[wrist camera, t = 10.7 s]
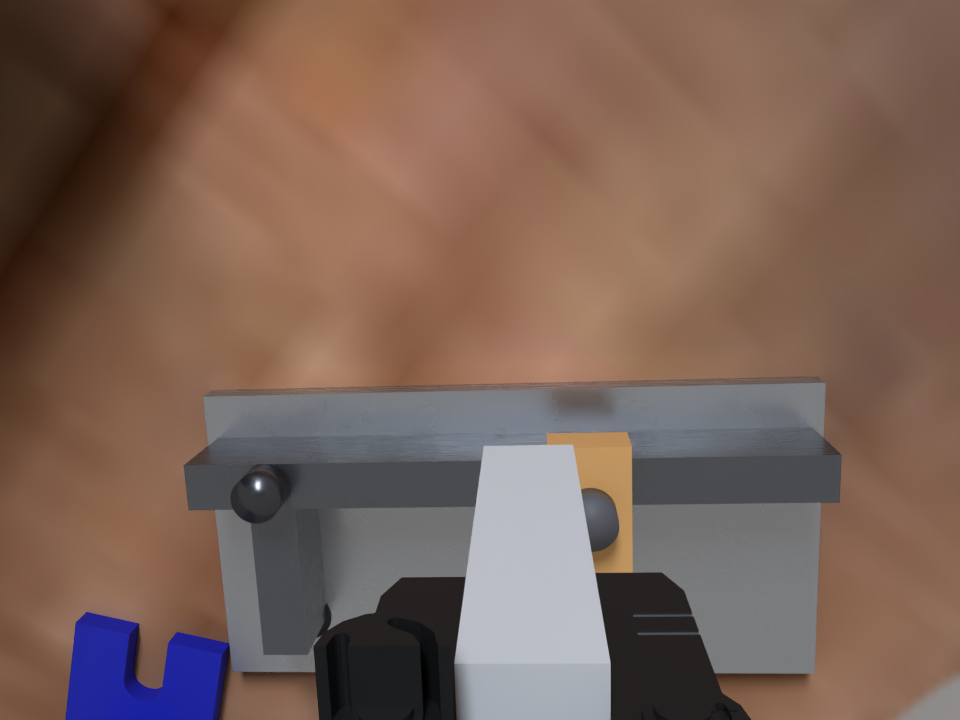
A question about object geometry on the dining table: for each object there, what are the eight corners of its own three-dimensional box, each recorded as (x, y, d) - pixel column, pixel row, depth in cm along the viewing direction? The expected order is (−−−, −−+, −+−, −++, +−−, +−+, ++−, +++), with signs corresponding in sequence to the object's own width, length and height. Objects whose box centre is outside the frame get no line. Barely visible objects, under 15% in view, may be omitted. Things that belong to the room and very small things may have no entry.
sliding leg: (552, 629, 42) (553, 722, 35) (546, 408, 40) (547, 459, 32) (621, 629, 41) (637, 723, 34) (619, 407, 39) (635, 458, 32)
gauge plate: (240, 658, 45) (187, 742, 38) (212, 390, 42) (150, 430, 36) (807, 660, 43) (855, 749, 36) (817, 376, 40) (871, 416, 33)
